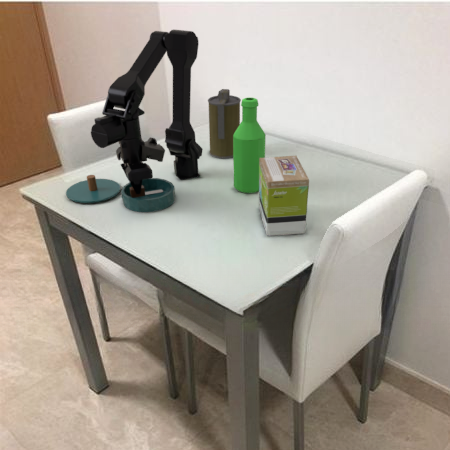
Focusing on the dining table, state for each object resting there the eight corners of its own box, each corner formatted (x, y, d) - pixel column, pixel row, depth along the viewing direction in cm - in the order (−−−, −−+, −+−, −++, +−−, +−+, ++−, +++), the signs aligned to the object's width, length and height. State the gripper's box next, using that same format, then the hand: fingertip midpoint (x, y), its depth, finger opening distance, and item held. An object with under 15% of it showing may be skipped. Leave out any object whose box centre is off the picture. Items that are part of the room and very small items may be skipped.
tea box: (257, 209, 133) (258, 156, 124) (294, 207, 134) (297, 154, 125) (265, 236, 121) (267, 180, 113) (306, 234, 122) (311, 177, 113)
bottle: (267, 184, 146) (270, 95, 131) (259, 196, 140) (261, 104, 125) (238, 180, 149) (238, 93, 134) (229, 192, 142) (228, 102, 127)
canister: (213, 146, 172) (211, 85, 160) (242, 148, 170) (243, 87, 158) (206, 158, 163) (203, 95, 151) (237, 160, 162) (237, 96, 150)
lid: (115, 178, 151) (113, 162, 148) (125, 199, 140) (122, 182, 137) (64, 186, 147) (60, 170, 144) (69, 208, 136) (65, 191, 133)
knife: (161, 190, 140) (161, 182, 138) (163, 192, 138) (162, 184, 137) (130, 195, 137) (129, 187, 136) (131, 198, 136) (130, 190, 134)
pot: (167, 186, 146) (166, 174, 144) (180, 206, 135) (179, 194, 133) (119, 194, 143) (117, 182, 140) (128, 216, 132) (127, 203, 130)
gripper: (169, 143, 122) (174, 201, 132) (152, 121, 136) (158, 175, 146) (124, 149, 119) (133, 208, 129) (111, 126, 133) (120, 181, 143)
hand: (137, 192), depth 136 cm, fingers closed on knife, 2 cm apart
